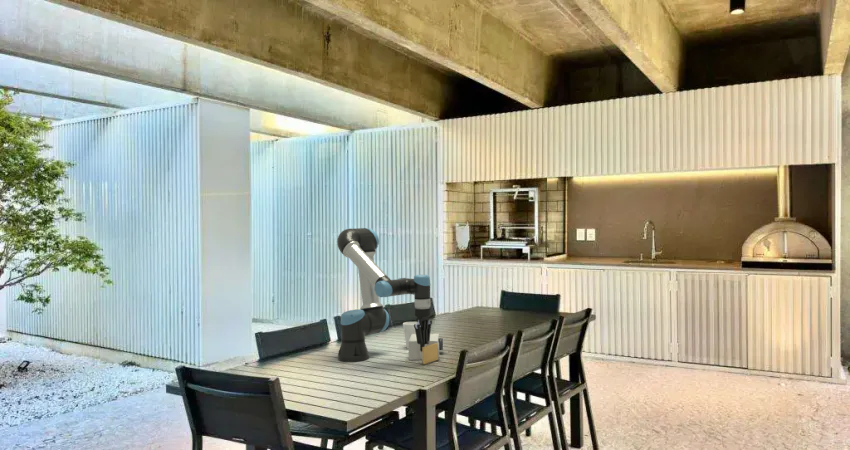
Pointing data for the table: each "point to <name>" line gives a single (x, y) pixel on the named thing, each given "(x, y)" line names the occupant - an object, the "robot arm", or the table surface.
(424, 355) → the door
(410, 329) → the foam cup
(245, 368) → the table surface
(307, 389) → the table surface
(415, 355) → the housing
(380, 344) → the table surface
